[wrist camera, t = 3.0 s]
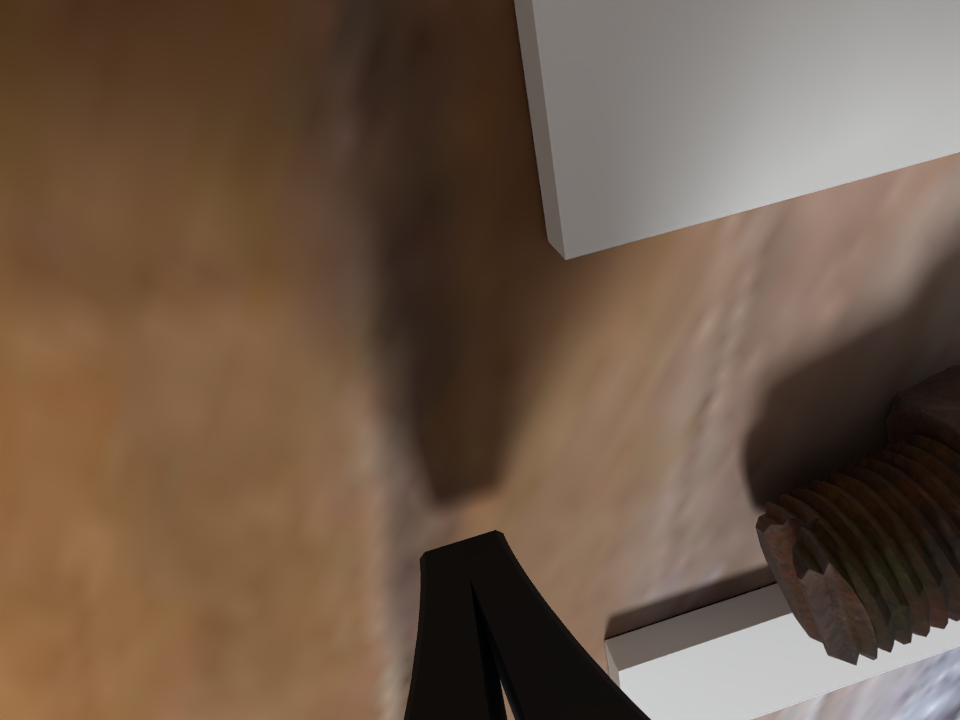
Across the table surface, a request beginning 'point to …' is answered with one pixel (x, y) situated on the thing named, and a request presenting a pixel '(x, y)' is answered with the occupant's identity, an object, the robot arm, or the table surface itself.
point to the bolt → (877, 533)
